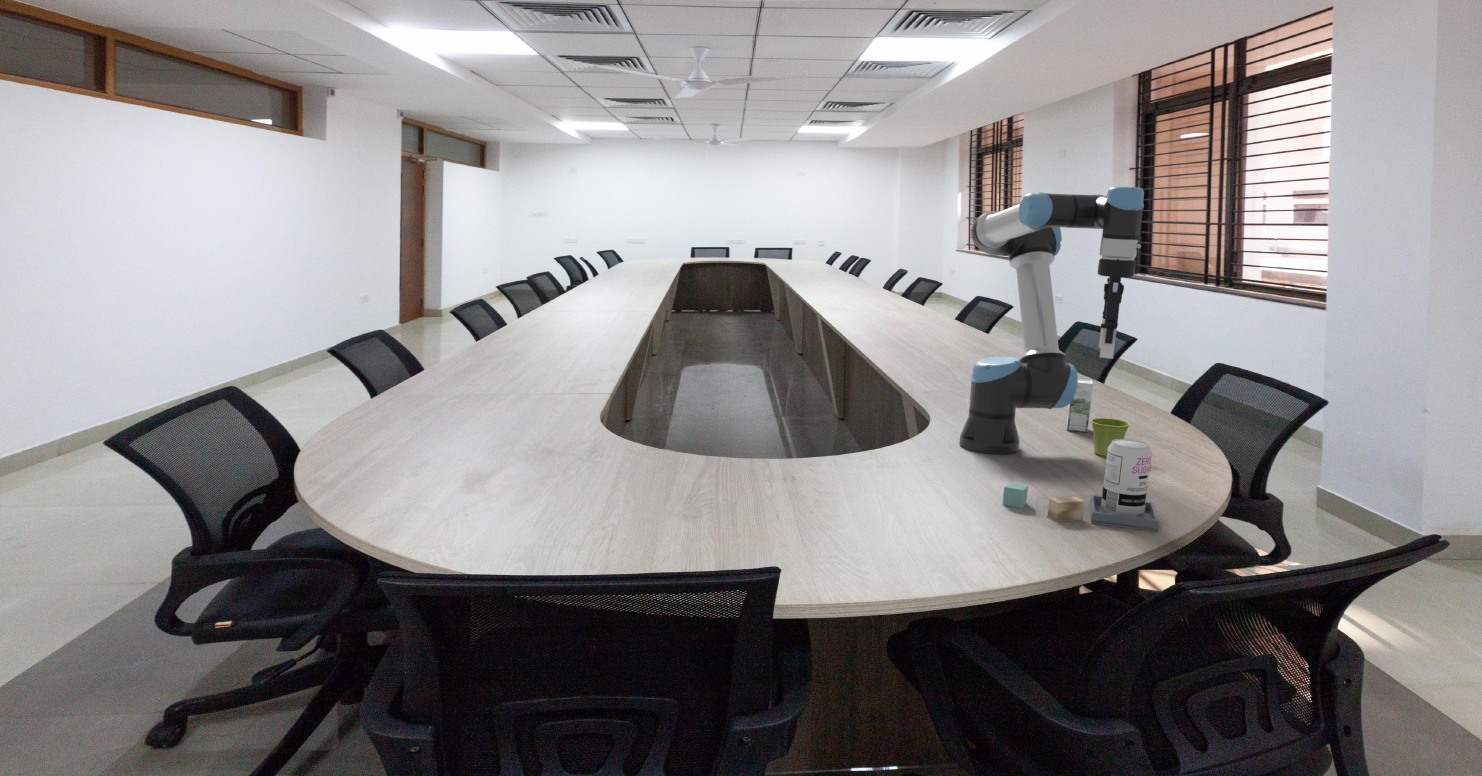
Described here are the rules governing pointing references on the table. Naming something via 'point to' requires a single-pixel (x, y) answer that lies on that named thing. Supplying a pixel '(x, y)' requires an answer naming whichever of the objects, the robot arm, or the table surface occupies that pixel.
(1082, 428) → the syrup box
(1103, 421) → the plant pot
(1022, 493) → the teal block
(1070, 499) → the tan block
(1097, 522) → the tray
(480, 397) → the table surface
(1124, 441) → the supplement can
